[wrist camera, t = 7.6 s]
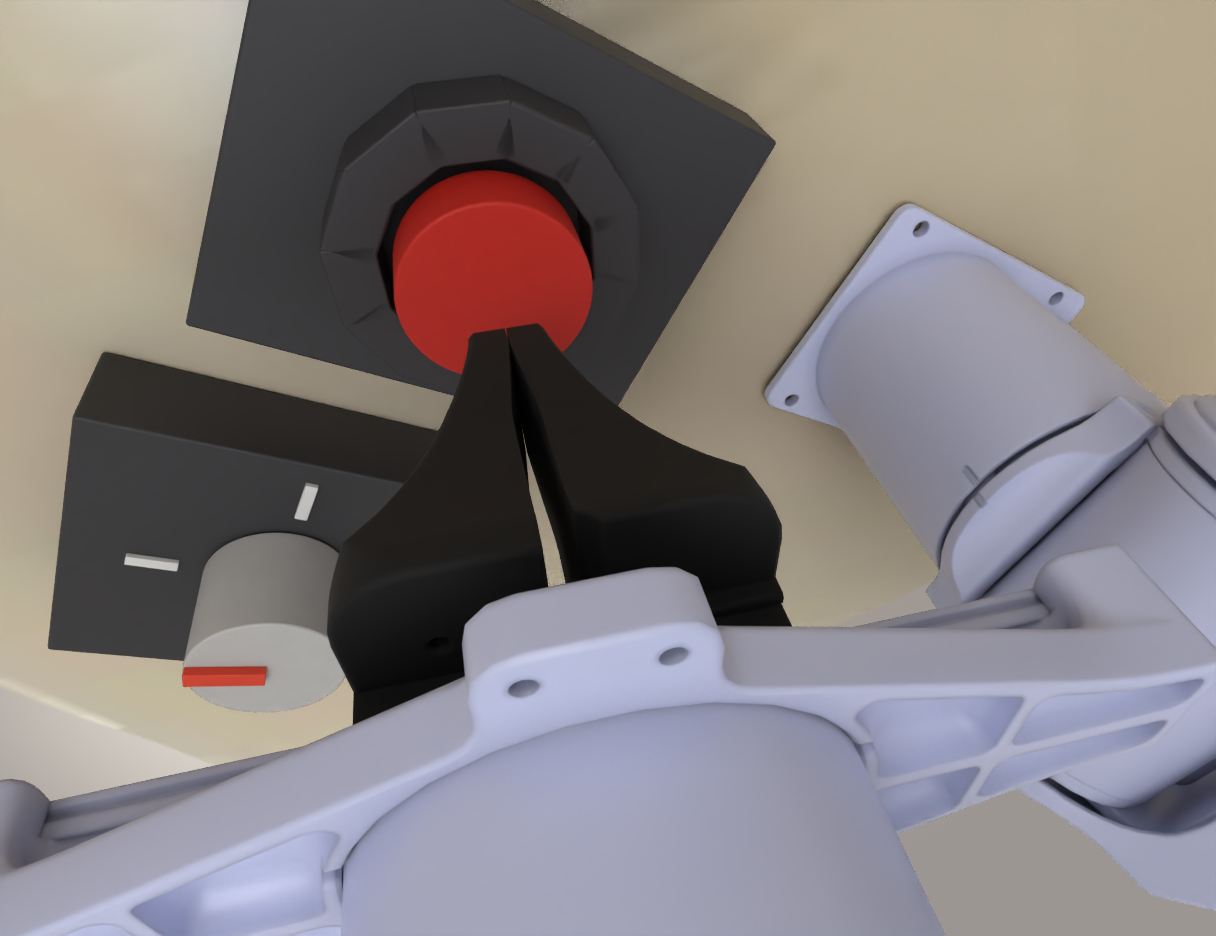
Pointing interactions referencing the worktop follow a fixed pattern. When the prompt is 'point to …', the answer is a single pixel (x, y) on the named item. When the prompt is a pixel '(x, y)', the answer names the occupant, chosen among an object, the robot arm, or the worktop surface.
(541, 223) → the power button
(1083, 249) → the worktop surface
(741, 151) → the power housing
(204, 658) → the timer dial
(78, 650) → the timer panel
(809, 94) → the worktop surface
